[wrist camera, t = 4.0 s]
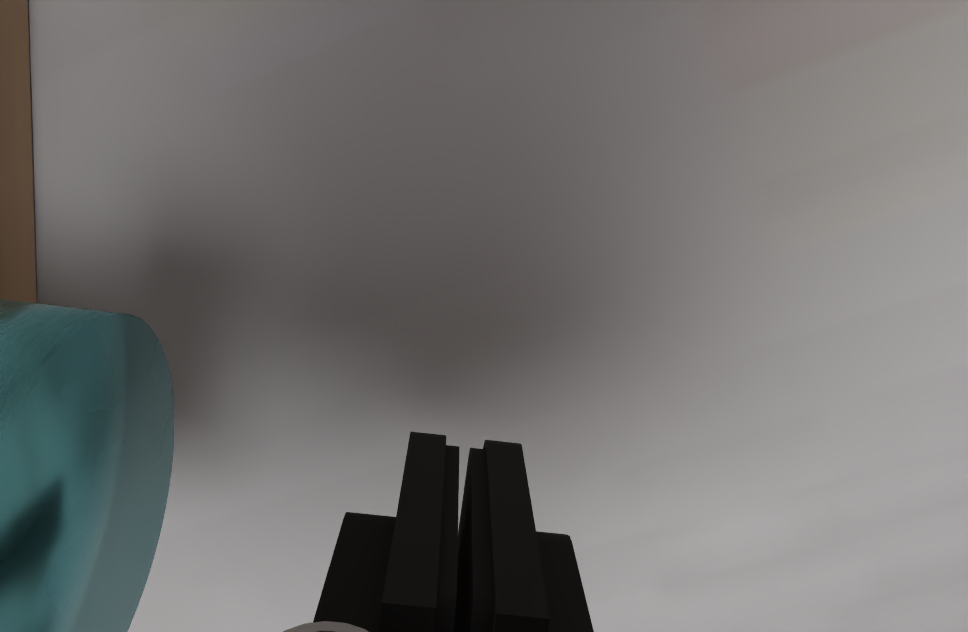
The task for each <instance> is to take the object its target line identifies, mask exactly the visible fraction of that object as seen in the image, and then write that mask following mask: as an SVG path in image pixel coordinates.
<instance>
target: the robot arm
mask: <svg viewBox="0 0 968 632" xmlns="http://www.w3.org/2000/svg"><path fill="white" fill-rule="evenodd" d="M458 493H459V447H458V446H448V445H446V436H445V435H436V434H427V433H418V432H411V433H410V438H409V444H408V450H407V456H406V462H405V468H404V474H403V480H402V486H401V492H400V498H399V504H398V510H397V516H396V517H389V516H380V515H370V514H360V513H350V512H347V513H345V516H344V519H343V522H342V526H341V529H340V533H339V536H338V539H337V543H336V546H335V550H334V553H333V556H332V560H331V563H330V567H329V570H328V573H327V577H326V580H325V584H324V587H323V590H322V594H321V597H320V601H319V604H318V607H317V611H316V614H315V618H314V621H313V623H306V624H302V625H299V626H296V627H294V628H291V629H288V630H285V631H283V632H594V631H593V627H592V623H591V619H590V615H589V611H588V607H587V603H586V598H585V594H584V590H583V586H582V582H581V578H580V574H579V570H578V565H577V561H576V557H575V553H574V549H573V545H572V541H571V539H570V536H568V535H565V534H556V533H546V532H536V529H535V523H534V517H533V511H532V505H531V499H530V493H529V487H528V481H527V475H526V469H525V463H524V456H523V450H522V445H521V444H518V443H509V442H500V441H491V440H485V442H484V447H483V449H476V448H470V452H469V458H468V465H467V472H466V480H465V487H464V494H463V502H462V509H461V516H460V523H459V531H458Z"/></svg>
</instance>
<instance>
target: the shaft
mask: <svg viewBox="0 0 968 632" xmlns="http://www.w3.org/2000/svg"><path fill="white" fill-rule="evenodd" d="M173 446H174V402H173V391H172V383H171V377H170V372H169V368H168V363H167V360H166V357H165V354H164V351H163V348H162V346H161V344H160V342H159V340H158V338H157V336H156V335H155V333H154V332H153V331H152V329H151V328H150V327H149V326H148V325H147V324H146V323H145V322H144V321H142V320H141V319H139V318H137V317H135V316H133V315H129V314H120V313H112V312H104V311H96V310H88V309H79V308H71V307H63V306H55V305H46V304H38V303H30V302H22V301H14V300H5V299H0V632H127V631H128V629H129V627H130V624H131V622H132V619H133V617H134V614H135V612H136V609H137V607H138V604H139V601H140V598H141V596H142V593H143V590H144V587H145V584H146V581H147V578H148V575H149V572H150V568H151V565H152V562H153V558H154V555H155V551H156V547H157V544H158V540H159V536H160V531H161V527H162V523H163V518H164V513H165V508H166V503H167V497H168V491H169V484H170V477H171V469H172V459H173Z"/></svg>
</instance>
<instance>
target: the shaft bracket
mask: <svg viewBox="0 0 968 632" xmlns="http://www.w3.org/2000/svg"><path fill="white" fill-rule="evenodd" d="M0 299H5V300H14V301H22V302H30V303H37V295H36V261H35V228H34V195H33V161H32V128H31V94H30V61H29V27H28V0H0Z"/></svg>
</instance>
